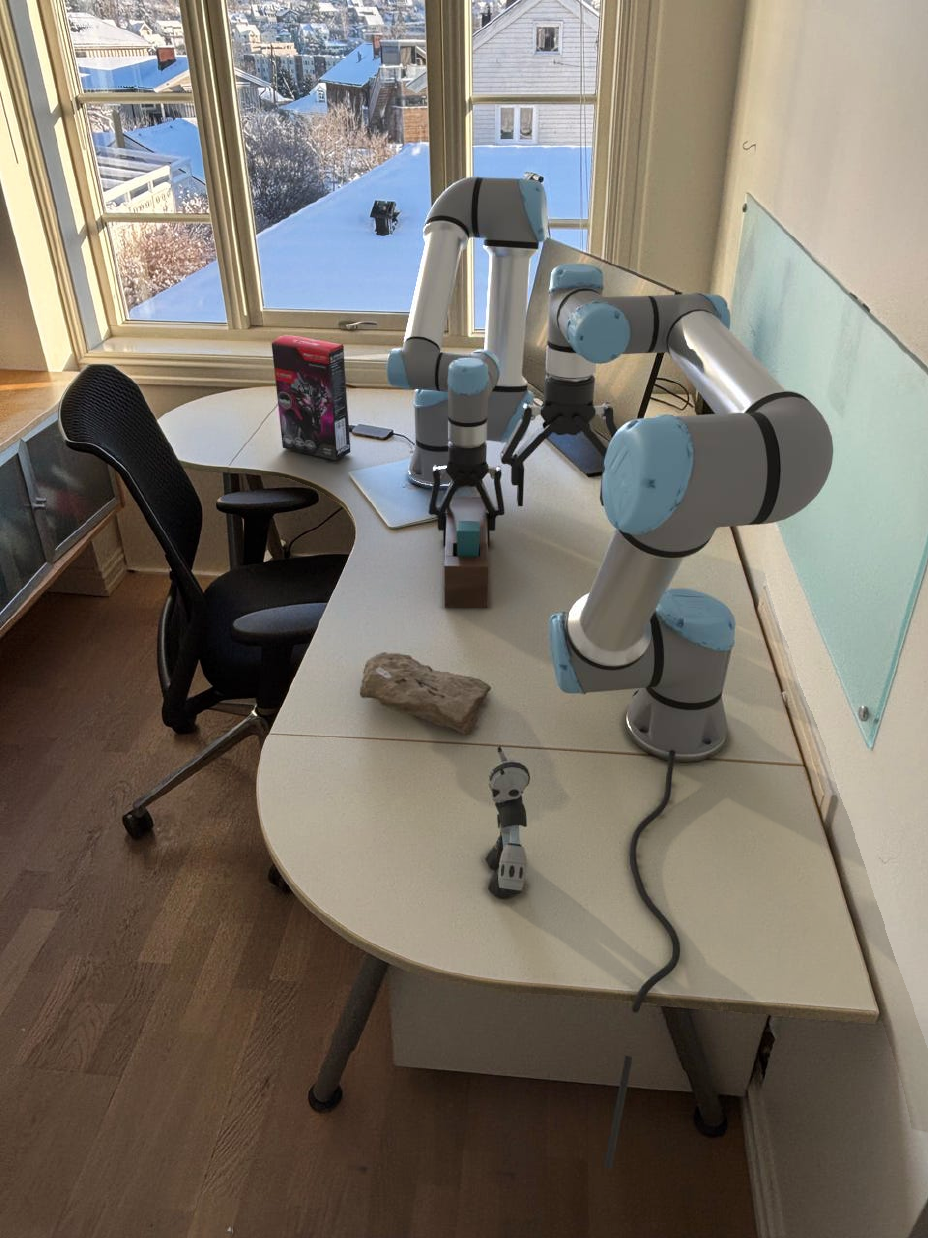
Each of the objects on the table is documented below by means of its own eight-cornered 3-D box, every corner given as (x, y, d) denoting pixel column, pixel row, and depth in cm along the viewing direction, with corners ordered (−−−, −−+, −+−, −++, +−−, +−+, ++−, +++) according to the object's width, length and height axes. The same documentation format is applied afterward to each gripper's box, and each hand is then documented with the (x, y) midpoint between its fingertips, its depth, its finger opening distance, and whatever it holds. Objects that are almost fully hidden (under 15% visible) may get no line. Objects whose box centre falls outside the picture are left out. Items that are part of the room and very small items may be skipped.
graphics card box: (280, 449, 231) (268, 340, 216) (296, 439, 236) (286, 332, 221) (337, 462, 224) (328, 351, 209) (352, 452, 229) (345, 343, 214)
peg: (477, 596, 175) (479, 531, 167) (456, 595, 175) (457, 530, 167) (477, 585, 178) (478, 520, 171) (457, 584, 178) (457, 520, 171)
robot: (531, 936, 111) (540, 818, 100) (491, 937, 111) (496, 820, 100) (516, 817, 127) (522, 704, 116) (481, 818, 127) (484, 705, 116)
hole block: (487, 607, 172) (488, 566, 167) (444, 607, 172) (444, 565, 167) (485, 535, 195) (486, 497, 190) (447, 535, 195) (447, 496, 190)
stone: (334, 705, 142) (341, 671, 140) (369, 669, 156) (376, 637, 153) (461, 752, 139) (471, 718, 136) (486, 710, 152) (495, 679, 150)
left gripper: (520, 433, 182) (515, 535, 195) (414, 432, 182) (417, 534, 195) (522, 449, 176) (517, 553, 188) (412, 448, 176) (415, 552, 188)
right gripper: (648, 366, 142) (633, 492, 153) (486, 366, 141) (484, 493, 153) (657, 381, 136) (642, 512, 147) (488, 382, 135) (485, 512, 147)
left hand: (466, 543), depth 191 cm, fingers closed on hole block, 8 cm apart
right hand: (561, 502), depth 150 cm, fingers open, 13 cm apart
